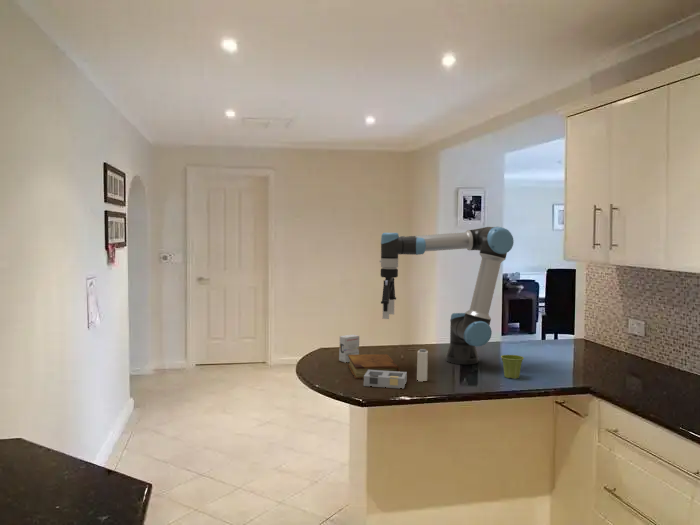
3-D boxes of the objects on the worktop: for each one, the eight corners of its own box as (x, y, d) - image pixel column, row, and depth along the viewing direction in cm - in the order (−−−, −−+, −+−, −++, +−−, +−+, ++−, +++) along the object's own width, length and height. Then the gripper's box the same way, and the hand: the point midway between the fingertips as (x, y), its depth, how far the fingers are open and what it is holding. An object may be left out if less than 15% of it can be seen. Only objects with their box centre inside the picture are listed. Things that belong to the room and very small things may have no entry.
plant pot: (495, 375, 260) (496, 355, 260) (513, 373, 264) (514, 353, 264) (509, 380, 252) (510, 360, 251) (527, 378, 256) (528, 358, 255)
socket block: (406, 381, 247) (406, 371, 247) (403, 388, 236) (404, 378, 236) (368, 379, 250) (368, 369, 250) (363, 386, 239) (363, 375, 239)
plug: (427, 379, 252) (427, 348, 251) (426, 381, 248) (427, 350, 247) (417, 378, 253) (418, 348, 252) (416, 381, 249) (417, 350, 248)
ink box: (352, 358, 288) (353, 334, 287) (359, 360, 284) (360, 335, 283) (338, 360, 283) (338, 335, 282) (345, 363, 279) (345, 337, 278)
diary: (399, 379, 253) (399, 366, 253) (355, 380, 251) (355, 366, 250) (388, 366, 276) (388, 353, 275) (347, 366, 273) (348, 354, 273)
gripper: (385, 265, 276) (384, 312, 277) (375, 269, 252) (374, 320, 253) (402, 266, 274) (401, 312, 276) (393, 270, 250) (392, 321, 251)
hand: (388, 316), depth 264 cm, fingers open, 13 cm apart
